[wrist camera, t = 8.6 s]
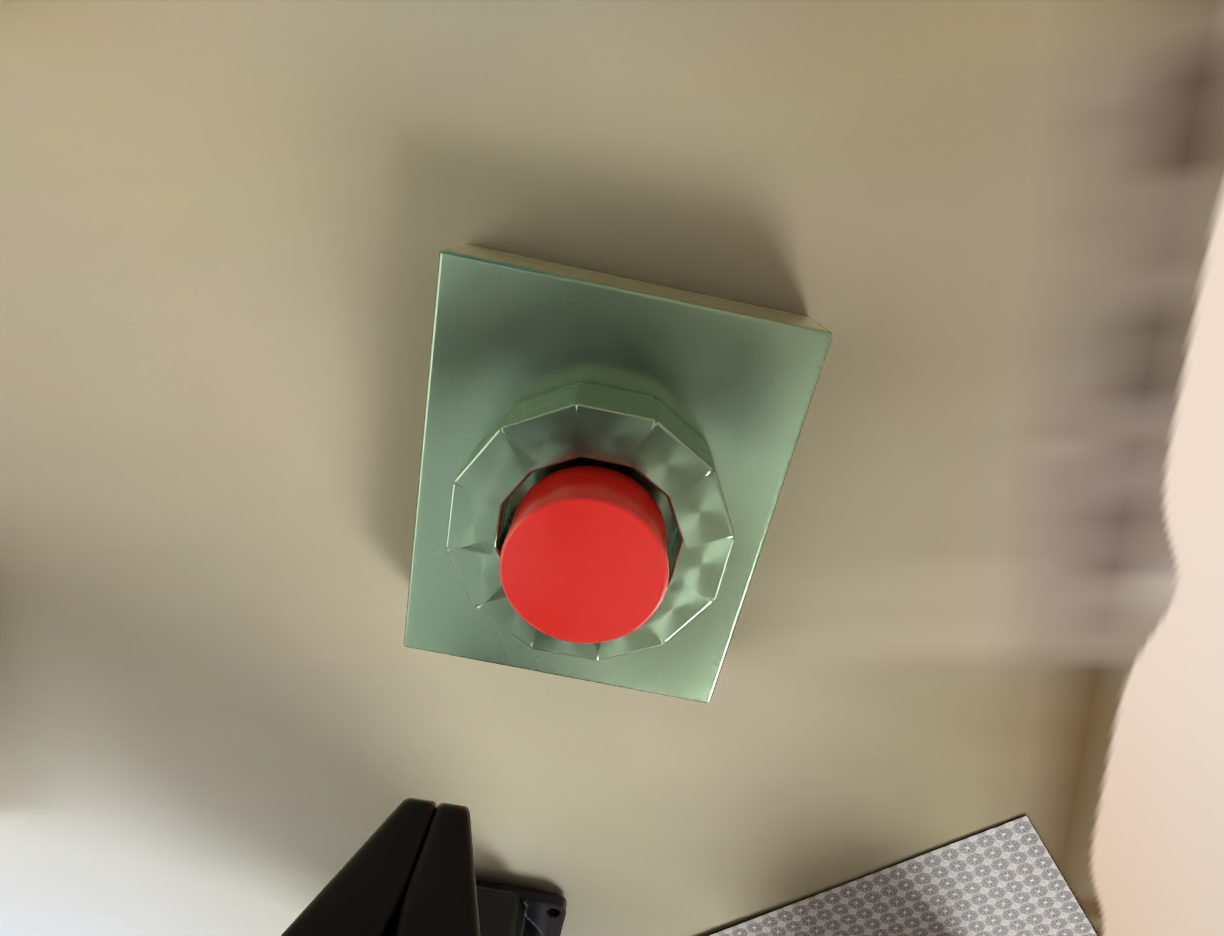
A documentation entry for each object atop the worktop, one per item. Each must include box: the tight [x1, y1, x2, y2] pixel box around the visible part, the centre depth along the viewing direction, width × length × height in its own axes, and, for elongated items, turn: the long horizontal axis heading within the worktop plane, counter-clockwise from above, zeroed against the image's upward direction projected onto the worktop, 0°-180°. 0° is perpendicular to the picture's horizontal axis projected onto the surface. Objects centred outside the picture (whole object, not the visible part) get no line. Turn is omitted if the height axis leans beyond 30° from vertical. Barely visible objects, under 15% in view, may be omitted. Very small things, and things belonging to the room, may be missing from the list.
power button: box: [499, 466, 669, 643], centre depth 14 cm, size 4×4×2 cm
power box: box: [404, 244, 832, 703], centre depth 17 cm, size 11×9×4 cm
